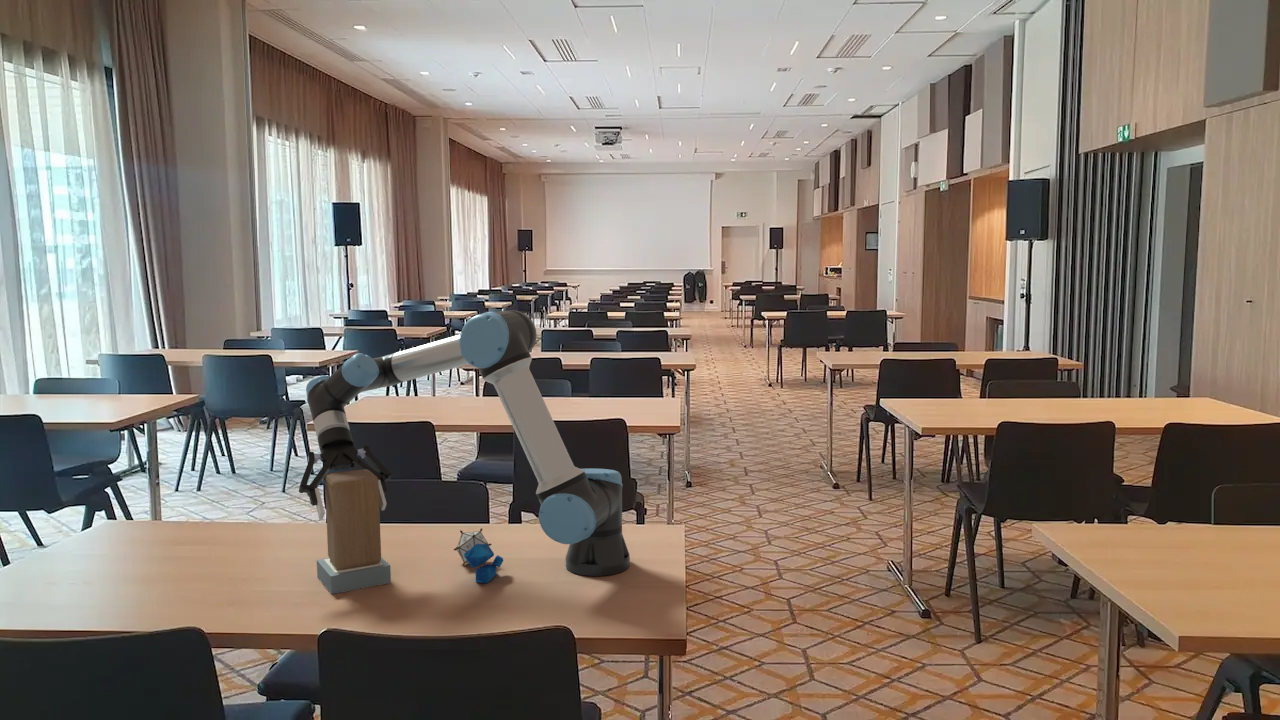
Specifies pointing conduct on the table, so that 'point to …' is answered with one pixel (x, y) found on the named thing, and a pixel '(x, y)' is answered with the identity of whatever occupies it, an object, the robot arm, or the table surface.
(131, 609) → the table surface
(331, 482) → the wooden block
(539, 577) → the table surface
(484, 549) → the blue faceted figurine
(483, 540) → the game die
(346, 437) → the robot arm
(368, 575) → the base
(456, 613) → the table surface
